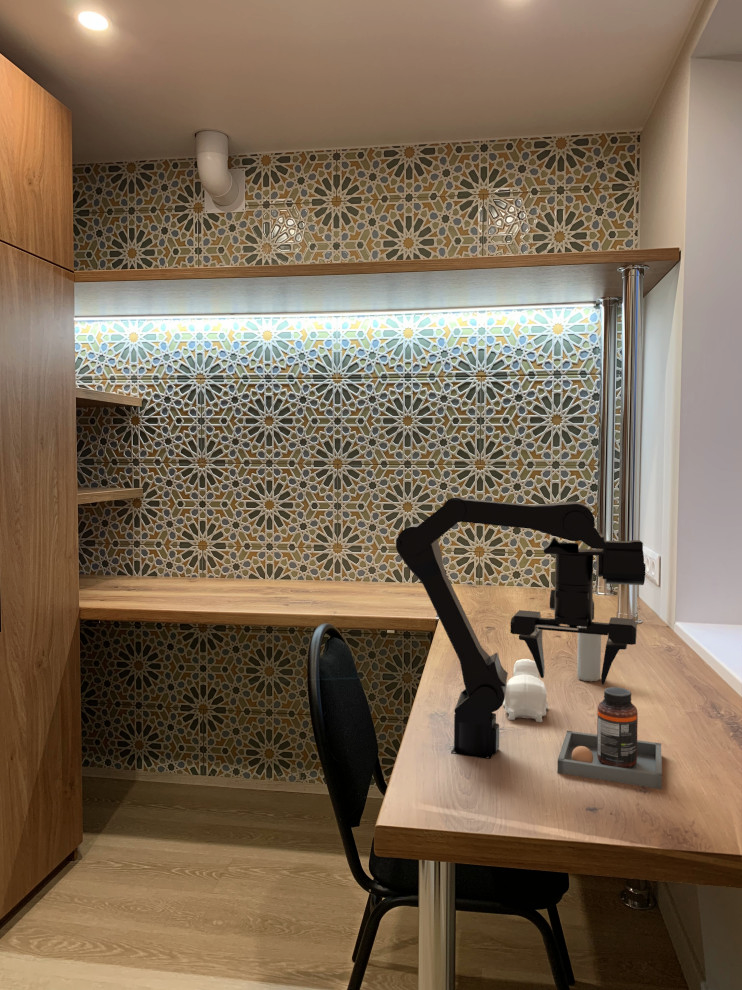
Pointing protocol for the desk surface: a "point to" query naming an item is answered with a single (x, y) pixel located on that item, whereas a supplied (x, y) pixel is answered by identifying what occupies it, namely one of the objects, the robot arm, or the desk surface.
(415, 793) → the desk surface
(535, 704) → the white low-poly figurine
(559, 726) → the desk surface
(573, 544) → the robot arm
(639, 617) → the desk surface
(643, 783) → the tray
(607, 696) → the supplement bottle
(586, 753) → the ball
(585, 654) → the beverage can
